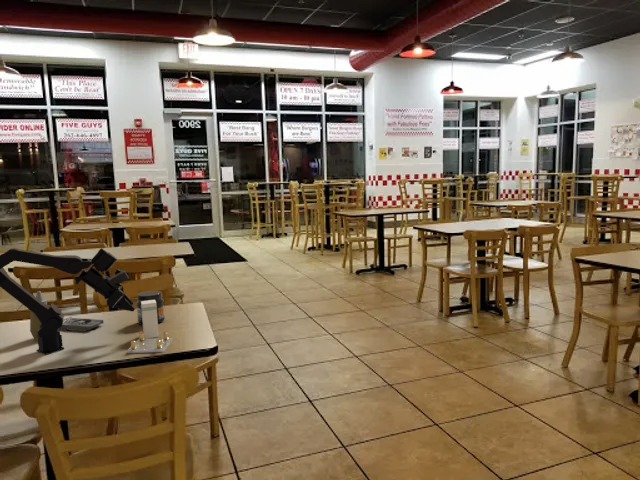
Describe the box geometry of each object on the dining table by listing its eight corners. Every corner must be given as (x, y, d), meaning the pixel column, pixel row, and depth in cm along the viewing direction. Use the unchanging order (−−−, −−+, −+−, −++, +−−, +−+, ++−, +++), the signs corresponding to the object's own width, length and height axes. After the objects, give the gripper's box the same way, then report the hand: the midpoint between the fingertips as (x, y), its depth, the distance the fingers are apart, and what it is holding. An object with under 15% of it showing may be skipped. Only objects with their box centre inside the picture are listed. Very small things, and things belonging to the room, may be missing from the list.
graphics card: (48, 324, 195) (70, 315, 206) (49, 334, 195) (71, 324, 207) (85, 327, 190) (105, 317, 202) (86, 336, 191) (106, 326, 203)
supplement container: (169, 318, 209) (167, 290, 208) (157, 326, 199) (155, 296, 197) (145, 318, 211) (143, 290, 209) (133, 325, 201) (130, 296, 199)
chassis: (127, 353, 169) (126, 343, 168) (138, 341, 181) (138, 332, 180) (163, 352, 169) (162, 342, 168) (172, 340, 181) (171, 331, 180)
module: (144, 338, 184) (141, 304, 182) (143, 335, 188) (140, 301, 186) (158, 336, 186) (156, 302, 184) (157, 332, 190) (155, 299, 188)
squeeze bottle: (28, 343, 182) (23, 294, 180) (34, 336, 190) (29, 290, 188) (52, 340, 185) (47, 292, 182) (57, 334, 192) (53, 288, 190)
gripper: (114, 268, 170) (150, 295, 176) (112, 260, 187) (146, 285, 193) (91, 293, 168) (128, 320, 174) (91, 283, 185) (126, 308, 191)
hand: (133, 307), depth 183 cm, fingers open, 9 cm apart
